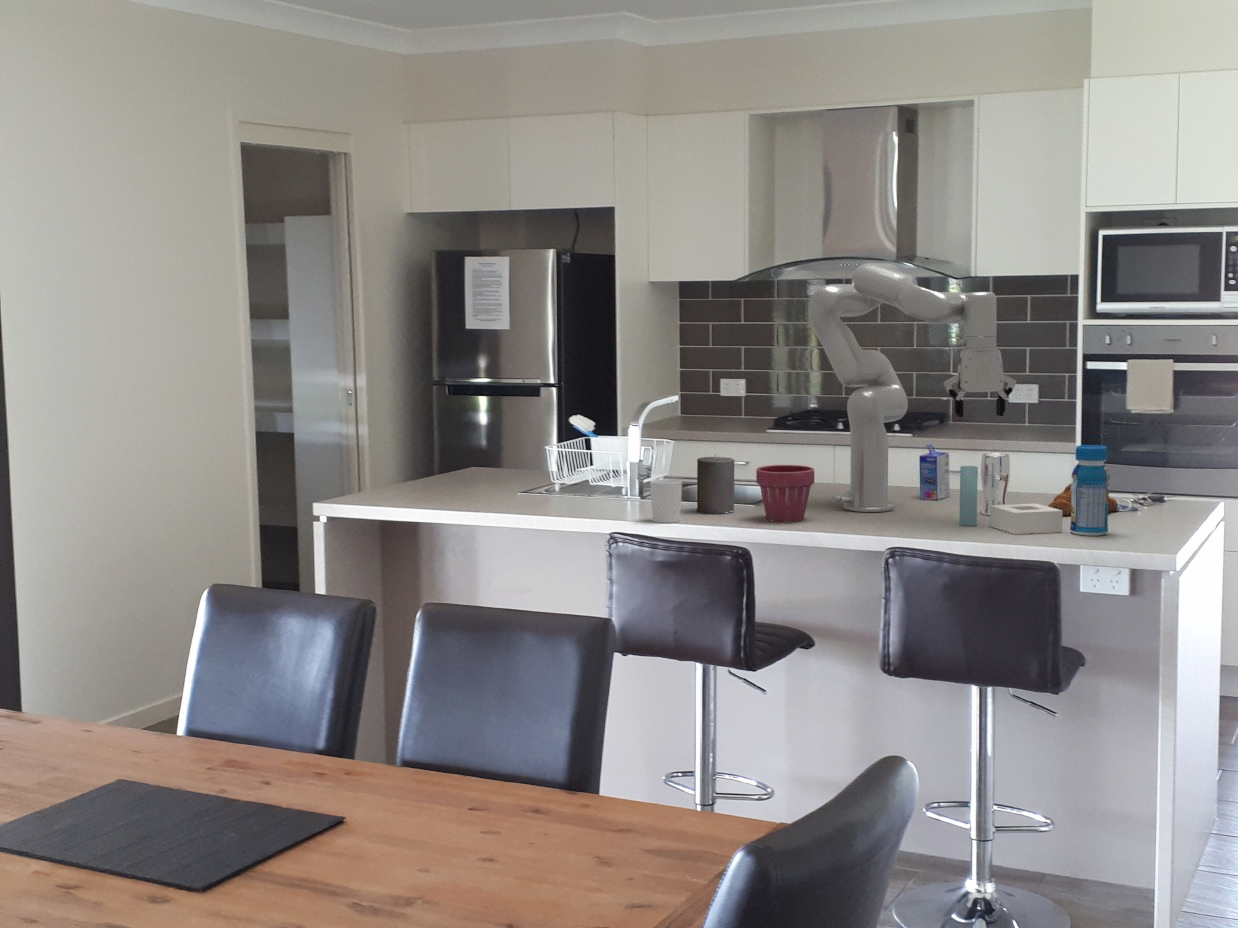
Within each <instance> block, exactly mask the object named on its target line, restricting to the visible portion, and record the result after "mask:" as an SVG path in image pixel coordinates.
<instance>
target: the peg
mask: <svg viewBox="0 0 1238 928" xmlns="http://www.w3.org/2000/svg"><path fill="white" fill-rule="evenodd" d="M978 468H979V466H975V465H961V466H960V468H959V469H960V470H959V517H958V518H959V521H958V522H959V526H961V527H976V525H977V523H978V519H977V518H978V516H977V515H978V480H979V479H978V477H979V476H978V473H979V472H978V471H979V469H978ZM977 526H978V525H977Z"/></svg>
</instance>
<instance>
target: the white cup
mask: <svg viewBox="0 0 1238 928" xmlns="http://www.w3.org/2000/svg"><path fill="white" fill-rule="evenodd" d="M649 483H650V484H649V485H650V502H651V511H652V521H653V522H654V523H659V524H673V523H679V522H681V510H682V497H683V495H682V493H683V480H681V479H675V478H670V479H669V478H662V479H661V478H658V479H653V480H650V481H649Z"/></svg>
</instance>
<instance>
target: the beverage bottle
mask: <svg viewBox="0 0 1238 928" xmlns="http://www.w3.org/2000/svg"><path fill="white" fill-rule="evenodd" d="M1107 460H1108V448H1107V446H1105V445H1095V444H1091V445H1090V444H1082V445H1076V446H1075V461H1076V462H1078V463H1077V464H1076V466H1075V467H1074V468H1073V470H1072V473H1071V478H1072V481H1071V483H1072V484H1071V483H1070V484H1071V492H1072V501H1071V516H1070V524H1069V525H1070V526H1069V531H1070V532H1071V534H1074V535H1077V536H1088V537H1099V536H1105V535H1107V534H1108V533H1109V525H1108V521H1109V518H1108V517H1109V515H1108V514H1109V513H1108V497H1110V496H1109V495H1110V494H1109V493H1110V492H1111V491H1110V490H1111V486H1110V484H1109V480H1110V478H1111V476H1110V472H1109V470H1108V468H1107V466H1106V464H1104V463H1105V462H1107Z"/></svg>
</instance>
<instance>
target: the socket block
mask: <svg viewBox="0 0 1238 928" xmlns="http://www.w3.org/2000/svg"><path fill="white" fill-rule="evenodd" d="M1062 515H1063V511H1062V510H1058V509H1055V508H1051V507H1048V505H1043V504H1040V503H1036V502H1035V503H1016V504H1012V503H1011V504H1006V505H990V516H989V521H988V522H989V524H988V525H989V527H990V526H991V528H993V527H994V529H996V528H997V529H996V530H999V529H1000V530H999V531H1002V530H1003V532H1005V531H1006V533H1008V532H1009V533H1008V534H1011V533H1012V534H1011V535H1031V534H1030V533H1034V534H1046V533H1047V534H1051V533H1053V534H1054V533H1055V534H1056V533H1063V516H1062Z"/></svg>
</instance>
